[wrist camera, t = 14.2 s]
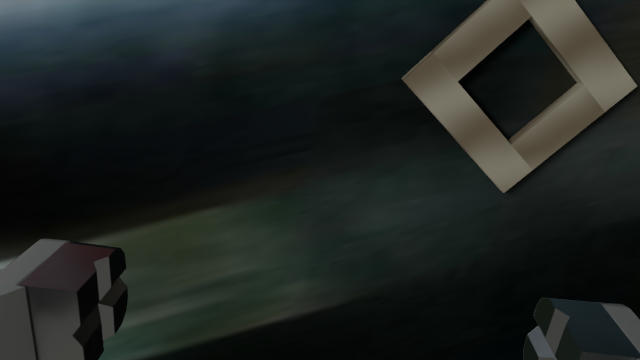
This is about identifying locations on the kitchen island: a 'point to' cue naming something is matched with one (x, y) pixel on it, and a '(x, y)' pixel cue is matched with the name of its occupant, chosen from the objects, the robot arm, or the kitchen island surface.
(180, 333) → the kitchen island surface
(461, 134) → the slot block
